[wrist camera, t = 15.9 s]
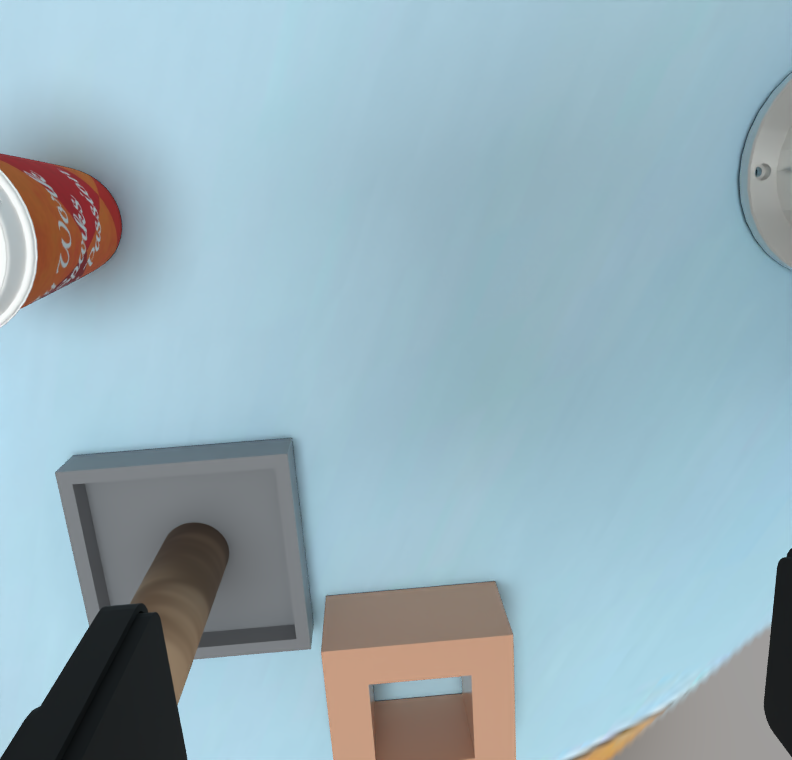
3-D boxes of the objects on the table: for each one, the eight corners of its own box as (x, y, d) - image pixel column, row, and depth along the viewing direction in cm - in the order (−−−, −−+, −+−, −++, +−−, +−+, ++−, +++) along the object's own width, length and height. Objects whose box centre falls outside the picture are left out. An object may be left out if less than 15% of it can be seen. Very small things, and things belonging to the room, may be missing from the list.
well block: (495, 581, 45) (513, 634, 39) (499, 720, 48) (516, 787, 42) (325, 596, 44) (321, 651, 39) (341, 734, 47) (338, 804, 42)
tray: (291, 437, 41) (287, 453, 39) (313, 624, 45) (310, 648, 42) (73, 455, 41) (55, 472, 38) (112, 641, 44) (98, 667, 42)
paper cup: (126, 309, 39) (0, 377, 25) (-15, 267, 38) (-223, 315, 24) (157, 171, 37) (39, 165, 23) (9, 123, 36) (-203, 88, 22)
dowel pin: (224, 519, 41) (171, 650, 30) (233, 577, 43) (185, 725, 31) (157, 525, 41) (78, 659, 30) (168, 583, 42) (96, 734, 31)
